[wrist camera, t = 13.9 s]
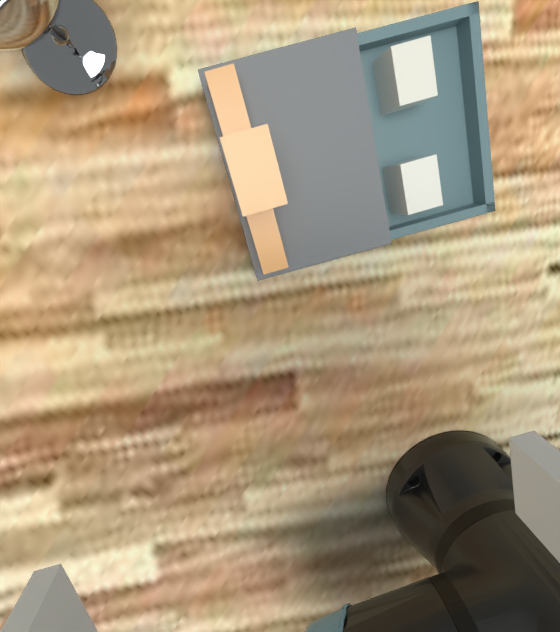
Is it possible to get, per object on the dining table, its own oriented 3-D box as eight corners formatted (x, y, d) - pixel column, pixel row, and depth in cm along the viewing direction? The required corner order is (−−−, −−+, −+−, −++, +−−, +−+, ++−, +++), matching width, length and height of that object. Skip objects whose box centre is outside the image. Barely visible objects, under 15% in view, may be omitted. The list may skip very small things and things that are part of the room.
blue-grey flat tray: (478, 209, 38) (495, 210, 35) (378, 237, 37) (387, 240, 35) (460, 15, 33) (478, 1, 30) (344, 46, 32) (352, 34, 30)
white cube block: (390, 212, 36) (421, 203, 36) (408, 214, 32) (443, 205, 32) (382, 167, 35) (414, 158, 35) (400, 164, 31) (436, 154, 31)
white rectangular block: (381, 115, 34) (415, 106, 34) (400, 106, 30) (437, 95, 30) (372, 63, 32) (407, 53, 32) (390, 46, 29) (430, 35, 29)
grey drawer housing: (375, 238, 37) (391, 243, 34) (255, 271, 37) (257, 280, 33) (341, 46, 32) (355, 27, 29) (202, 84, 32) (197, 69, 28)
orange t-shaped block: (287, 259, 33) (310, 291, 23) (258, 268, 33) (268, 303, 23) (237, 75, 29) (237, 8, 18) (204, 84, 29) (185, 22, 18)
